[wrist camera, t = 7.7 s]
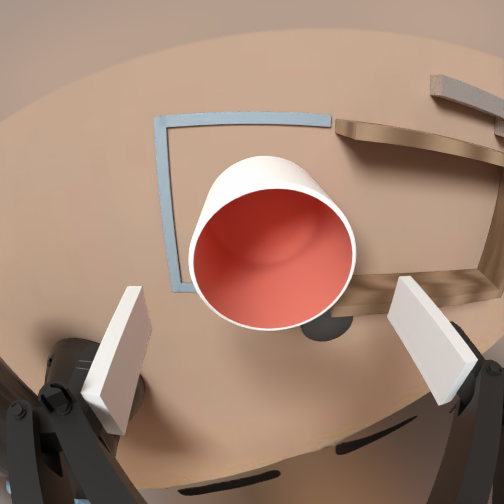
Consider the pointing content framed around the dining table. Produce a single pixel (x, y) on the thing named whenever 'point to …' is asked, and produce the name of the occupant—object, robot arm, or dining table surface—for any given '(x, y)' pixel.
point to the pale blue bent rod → (163, 164)
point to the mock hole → (326, 327)
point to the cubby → (439, 282)
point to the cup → (270, 246)
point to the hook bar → (469, 98)
